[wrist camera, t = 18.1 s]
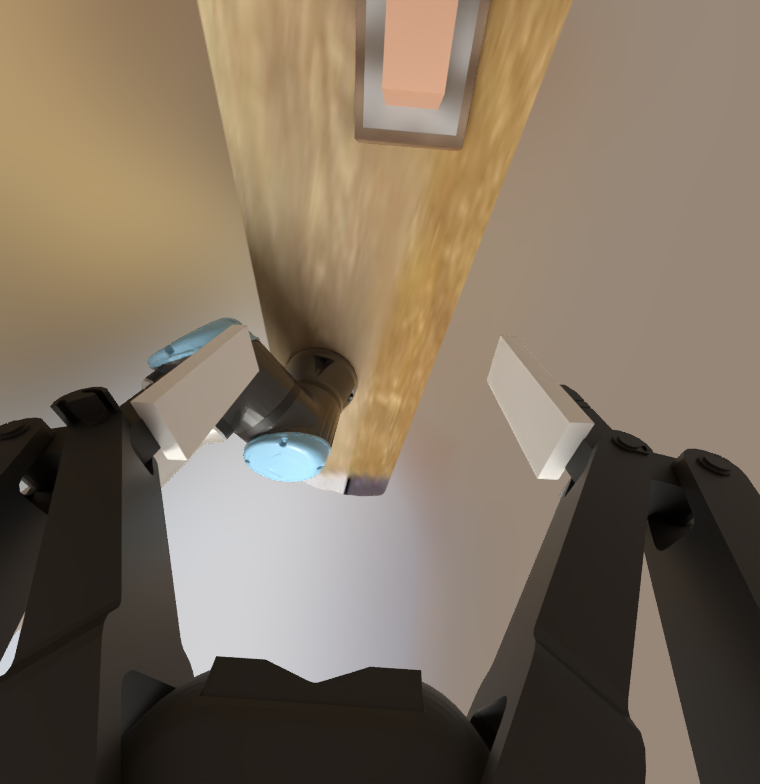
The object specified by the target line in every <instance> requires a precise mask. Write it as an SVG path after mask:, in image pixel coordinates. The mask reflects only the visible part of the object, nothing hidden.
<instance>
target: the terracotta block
mask: <svg viewBox="0 0 760 784" xmlns="http://www.w3.org/2000/svg"><path fill="white" fill-rule="evenodd" d="M457 7H458V0H386V19H385V38H384V57H383V76H382V91H383V96H384V101H385V105H389V106H400V107H412V108H423V109H434V110H438V109H439V106H440V104H441V102H442V99H443V97H444V94H445V88H446V81H447V74H448V68H449V61H450V54H451V47H452V41H453V34H454V27H455V20H456V14H457Z"/></svg>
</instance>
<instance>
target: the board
mask: <svg viewBox="0 0 760 784" xmlns="http://www.w3.org/2000/svg"><path fill="white" fill-rule="evenodd" d="M489 6H490V0H458V7H457V14H456V20H455V27H454V34H453V41H452V47H451V54H450V61H449V68H448V74H447V81H446V88H445V94H444V97H443V99H442V102H441V104H440V106H439V109H438V110H434V109H423V108H412V107H400V106H389V105H385V101H384V96H383V91H382V76H383V57H384V38H385V19H386V0H357V2H356V80H355V139H356V140H357V141H358V142H361V143H372V144H384V145H395V146H406V147H417V148H428V149H439V150H450V151H459V150H460V149H462V147H463V141H464V136H465V131H466V126H467V121H468V115H469V110H470V105H471V100H472V94H473V89H474V84H475V79H476V73H477V68H478V63H479V58H480V53H481V47H482V42H483V37H484V32H485V26H486V21H487V16H488V11H489Z"/></svg>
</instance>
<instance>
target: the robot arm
mask: <svg viewBox="0 0 760 784" xmlns="http://www.w3.org/2000/svg"><path fill="white" fill-rule="evenodd" d="M148 364H149V365H150V368H151V369H152V370H155V371H154V372H153V373H151V374H150V375H149V376H147V377H146V378H145V379H143V380H142V390H141V391H140V392H138V393H137V394H136V395H134V396H133V397H132V398H130V399H129V400H128V401H126V402H125V403H124V404H122V405H121V406H120V407H119V406H118V404H117V403H116V401H115V400H114V398H113V397H112V396H111V394H110V393H109V392H108V390H107V388H103V387H90V388H85V389H81V390H77V391H74V392H71V393H69V394H67V395H64V396H62V397H60V398H59V399H57V400H56V401H54V402H53V404H52V405H51V406H50V407H51V408H52V409H53V410H54V411H55V413H56V414H57V415H58V416H59V417H60V418H61V419H62V421H63V422H64V423H65V424H66V425H67V426H66V427H60V428H53V429H51V428H50V427H49V426H48V425H47V424H46V423H45V422H44V421H43V420H42V419H41V418H26V419H22V420H18V421H12V422H9V423H8V424H7V423H6V424H3V425H1V426H0V661H1V659H2V657H3V655H4V653H5V651H6V649H7V647H8V645H9V643H10V641H11V639H12V637H13V635H14V634H15V633H16V632H17V631H18V630H19V629H20V628H21V627H22V628H21V632H20V637H19V641H18V645H17V649H16V653H15V658H14V660H13V663H12V665H11V667H10V668H9V670H8V671H7V672H6V673H5V674H4V675H2V676H0V784H645V776H646V761H645V747H644V743H643V739H642V736H641V732H640V731H639V729H638V728H637V727H636V725H635V724H634V723H633V721H632V720H631V718H630V716H629V711H628V696H629V687H630V686H629V685H630V677H631V668H632V658H633V648H634V639H635V629H636V620H637V611H638V601H639V591H640V582H641V572H642V564H643V553H645V556H646V561H647V565H648V569H649V573H650V577H651V581H652V586H653V590H654V594H655V598H656V602H657V606H658V610H659V615H660V619H661V623H662V627H663V631H664V635H665V639H666V643H667V648H668V652H669V656H670V660H671V664H672V668H673V673H674V677H675V681H676V685H677V689H678V693H679V697H680V702H681V705H682V710H683V714H684V718H685V722H686V726H687V730H688V735H689V739H690V743H691V747H692V751H693V755H694V759H695V764H696V767H697V771H698V776H699V780H700V784H760V495H759V493H758V492H757V490H756V489H755V488H754V486H753V485H752V483H751V482H750V480H749V479H748V477H747V476H746V475H745V474H744V473H743V472H742V471H741V470H740V469H739V468H738V467H737V466H735V465H734V464H732V463H731V462H730V461H729V460H727V459H725V458H722V457H721V456H719V455H716V454H713V453H710V452H707V451H704V450H699V449H687V450H685V451H684V452H683V453H682V454H681V455H680V456H679V457H678V458H673V457H668V456H665V455H661V454H657V453H653V451H652V449H651V448H650V447H649V446H648V445H647V444H646V443H644V442H643V441H642V440H640V439H639V438H637V437H635V436H633V435H631V434H628V433H625V432H622V431H618V430H612V429H611V428H610V427H609V426H608V425H607V424H606V423H605V422H604V421H603V420H602V419H601V417H600V416H599V415H598V414H597V413H596V412H595V411H594V410H593V409H590V406H589V405H588V404H587V403H586V402H584V400H583V399H582V398H581V397H580V396H579V395H578V393H577V392H575V391H574V390H572V389H570V388H569V387H567V386H566V385H559V384H558V382H557V381H556V380H555V379H554V378H553V377H552V376H551V375H550V374H549V372H548V371H547V370H546V369H545V368H544V367H543V366H542V365H541V364H540V363H539V361H538V360H537V359H536V358H535V357H534V356H533V355H532V354H531V353H530V352H529V350H528V349H527V348H526V347H525V346H524V345H523V344H522V343H521V341H520V340H519V339H518V338H517V337H516V336H503V335H500V338H499V342H498V345H497V348H496V352H495V355H494V358H493V361H492V365H491V368H490V372H489V375H488V378H487V382H488V384H489V386H490V388H491V390H492V392H493V394H494V396H495V398H496V400H497V402H498V404H499V405H500V407H501V409H502V411H503V413H504V415H505V417H506V419H507V421H508V423H509V425H510V427H511V429H512V431H513V432H514V435H515V437H516V438H517V440H518V442H519V444H520V446H521V448H522V450H523V452H524V454H525V456H526V458H527V460H528V462H529V464H530V466H531V467H532V470H533V471H534V473H535V475H536V477H537V478H539V479H559V478H560V476H561V474H562V473H563V471H564V470H565V468H566V470H567V472H568V473H569V474H570V476H571V479H570V481H569V482H568V483H567V485H566V486H565V487H564V489H563V490H562V492H561V493H560V495H559V496H558V497H560V498H561V500H560V502H559V505H558V507H557V509H556V512H555V514H554V517H553V519H552V522H551V524H550V526H549V529H548V531H547V534H546V536H545V538H544V541H543V543H542V546H541V548H540V551H539V553H538V555H537V558H536V560H535V563H534V565H533V568H532V570H531V573H530V575H529V577H528V580H527V582H526V585H525V587H524V589H523V592H522V594H521V597H520V599H519V602H518V604H517V606H516V609H515V611H514V614H513V616H512V618H511V621H510V623H509V626H508V628H507V631H506V633H505V636H504V638H503V640H502V643H501V645H500V648H499V650H498V652H497V655H496V657H495V660H494V662H493V664H492V666H491V668H490V670H489V672H488V673H487V675H486V677H485V678H484V680H483V682H482V684H481V686H480V688H479V690H478V692H477V694H476V696H475V699H474V701H473V703H472V705H471V708H470V710H469V712H468V715H467V717H466V716H465V715H464V714H463V713H462V712H461V711H460V710H459V709H458V708H457V706H456V705H455V704H453V703H452V702H451V701H450V700H449V699H448V698H446V696H444V695H443V694H442V693H440V692H439V691H437V690H436V689H434V688H433V687H431V686H429V685H428V684H425V683H423V682H422V679H421V670H408V669H395V668H380V667H368V668H365V669H362V670H358V671H355V672H352V673H349V674H345V675H342V676H339V677H335V678H332V679H329V680H325V681H322V682H319V683H313V682H310V681H307V680H305V679H303V678H301V677H299V676H297V675H295V674H293V673H291V672H289V671H287V670H285V669H283V668H281V667H279V666H277V665H275V664H273V663H271V662H269V661H267V660H263V659H248V658H234V657H219V656H216V658H215V661H214V663H213V666H212V668H211V670H210V671H207V672H205V673H202V674H200V675H198V676H196V677H194V675H193V670H192V667H191V664H190V662H189V660H188V658H187V655H186V653H185V652H184V650H183V646H182V644H181V638H180V631H179V623H178V616H177V608H176V601H175V593H174V585H173V578H172V570H171V562H170V554H169V546H168V539H167V531H166V524H165V516H164V508H163V501H162V493H161V487H163V486H164V485H165V484H166V483H167V481H169V480H170V478H171V477H173V476H174V474H176V473H177V472H178V471H179V469H181V468H182V467H183V466H184V465H185V464H186V463H187V462H188V460H190V459H191V457H193V456H194V455H195V454H196V453H197V451H199V450H200V449H201V448H202V447H203V446H204V445H207V444H211V443H219V442H224V441H225V440H227V439H228V438H229V436H230V435H231V434H232V433H233V432H234V433H235V434H237V435H238V436H239V437H240V438H242V439H243V440H244V441H245V442H247V444H246V446H245V448H244V455H243V456H244V459H245V462H246V464H247V465H248V466H249V468H251V469H252V470H253V471H255V472H256V473H257V474H260V475H261V476H264V477H266V478H269V479H273V480H277V481H286V482H298V481H304V480H307V479H310V478H312V477H314V476H316V475H317V474H318V473H320V471H321V470H322V469H323V467H324V465H325V463H326V460H327V457H328V456H329V454H330V452H331V447H332V443H333V439H334V436H335V432H336V428H337V424H338V421H339V417H340V413H341V412H342V411H343V410H344V409H345V408H346V407H347V406H348V405H349V404H350V402H351V401H352V399H353V397H354V395H355V391H356V387H357V378H356V374H355V372H354V370H353V368H352V366H351V365H350V364H349V363H348V362H347V361H346V360H345V359H344V358H343V357H342V356H340V355H339V354H337V353H335V352H333V351H330V350H327V349H322V348H309V349H305V350H302V351H300V352H298V353H297V354H295V355H294V356H293V357H292V358H291V360H290V361H289V363H288V364H287V366H286V368H284V367H283V366H282V365H281V364H280V363H279V361H278V360H277V359H276V358H275V357H274V356H273V355H272V354H271V353H270V352H269V351H268V350H267V349H266V348H265V346H263V344H262V343H261V342H260V341H259V338H258V337H255V336H254V335H253V334H252V333H251V332H250V331H249V330H248V328H247V325H242V324H241V323H240V322H239V321H237V320H235V319H233V318H222V319H219V320H216V321H213V322H211V323H209V324H207V325H205V326H202V327H200V328H198V329H196V330H194V331H192V332H191V333H189V334H187V335H185V336H183V337H181V338H179V339H178V340H176V341H174V342H172V344H171V345H168V346H166V347H165V348H163V349H161V350H159V351H157V352H156V353H155V354H153V355H152V356H151V357H150V358H149V359H148ZM21 480H22V481H23V482H24V483H25V484H27V485H28V487H27V488H26V489H25V490H23V491H22V492H20V488H19V483H20V481H21Z"/></svg>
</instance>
